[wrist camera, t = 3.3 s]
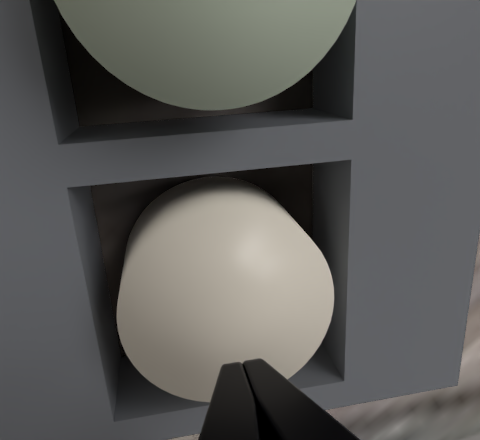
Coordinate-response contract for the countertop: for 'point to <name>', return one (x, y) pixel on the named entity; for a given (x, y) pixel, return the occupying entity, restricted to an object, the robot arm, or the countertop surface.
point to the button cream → (220, 286)
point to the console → (237, 159)
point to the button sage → (207, 45)
